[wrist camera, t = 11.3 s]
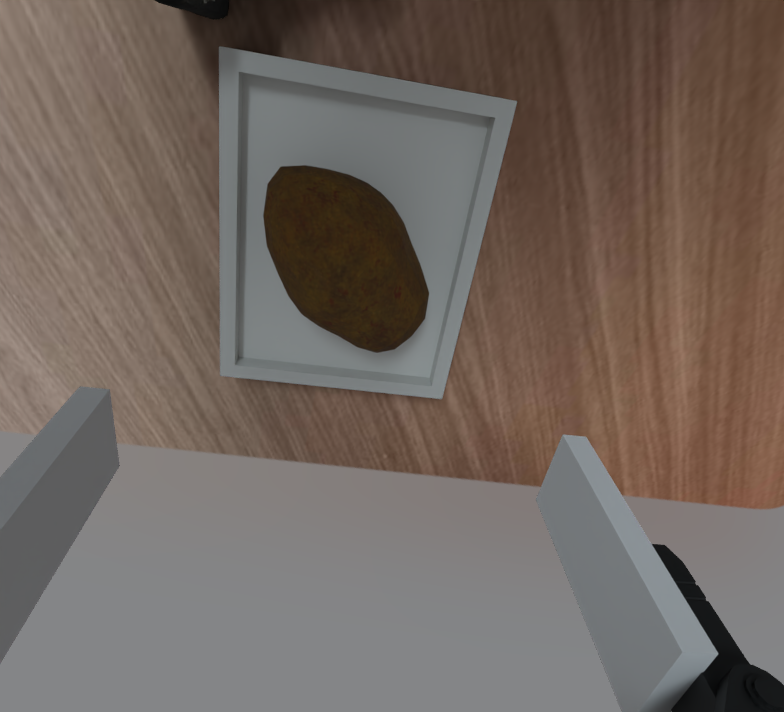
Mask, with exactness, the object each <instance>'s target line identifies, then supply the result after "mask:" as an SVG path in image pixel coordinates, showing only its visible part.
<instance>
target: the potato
mask: <svg viewBox="0 0 784 712" xmlns="http://www.w3.org/2000/svg"><path fill="white" fill-rule="evenodd" d="M263 218H264V227H265V235H266V244H267V248H268V250H269V253H270V255H271V258H272V260H273V263H274V265H275V268H276V270H277V273H278V275H279V277H280V279H281V281H282V283H283V286H284V288H285V290H286V292H287V294H288V296H289V298H290V299H291V300H292V302H293V303H294V305H295V306H296V307H297V309H298V310H299V311H300V313H301V314H302V315H303V316H305V317H306V318H308V319H309V320H310V321H312V322H313V323H315V324H316V325H318V326H319V327H321V328H323V329H325V330H327V331H329V332H331V333H333V334H335V335H337V336H339V337H341V338H342V339H344V340H346V341H348V342H349V343H351V344H353V345H354V346H356V347H358V348H361V349H365V350H368V351H372V352H375V353H379V352H384V351H389V350H395V349H396V348H397V347H399V346H400V345H401V344H402V343H404V342H405V341H406V340H408V339H409V338H410V337H411V336H412V335H413V334H414V333H415V331H416V330H417V329H418V328H419V326H420V325H421V324H422V322H423V321H424V320H425V316H426V310H427V304H428V298H429V290H428V287H427V284H426V281H425V278H424V274H423V271H422V268H421V265H420V262H419V260H418V257H417V255H416V253H415V250H414V248H413V245H412V243H411V240H410V238H409V235H408V232H407V230H406V227H405V224H404V222H403V220H402V219H401V217H400V215H399V214H398V212H397V211H396V209H395V207H394V206H393V204H392V203H391V202H390V201H389V200H388V199H387V198H386V197H385V196H384V195H383V194H382V193H381V192H380V191H378V190H377V189H375V188H374V187H373V186H371V185H370V184H368V183H367V182H365V181H362V180H360V179H358V178H356V177H353V176H351V175H348V174H345V173H341V172H337V171H334V170H330V169H325V168H319V167H313V166H307V165H302V166H282V167H280V168H279V169H278V171H277V172H276V173H275V175H274V176H273V177H272V179H271V180H270V181H269V182H268V184H267V191H266V199H265V206H264V213H263Z"/></svg>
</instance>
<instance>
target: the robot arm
mask: <svg viewBox="0 0 784 712" xmlns="http://www.w3.org/2000/svg"><path fill="white" fill-rule="evenodd" d="M119 466H120V465H119V458H118V450H117V442H116V434H115V427H114V419H113V411H112V404H111V396H110V389H100V388H90V387H79V388H78V389H77V390H76V391H75V393H74V394H73V395H72V396H71V397H70V398H69V399H68V400H67V402H66V403H65V404H64V405H63V406H62V407H61V408H60V410H59V411H58V412H57V413H56V414H55V415H54V416H53V418H52V419H51V420H50V421H49V422H48V423H47V424H46V426H45V427H44V428H43V429H42V430H41V431H40V432H39V434H38V435H37V436H36V437H35V438H34V439H33V440H32V442H31V443H30V444H29V445H28V446H27V447H26V448H25V450H24V451H23V452H22V453H21V454H20V455H19V456H18V458H17V459H16V460H15V461H14V462H13V463H12V464H11V466H10V467H9V468H8V469H7V470H6V471H5V472H4V473H3V475H2V476H1V477H0V663H1V662H2V660H3V658H4V657H5V655H6V653H7V652H8V650H9V648H10V647H11V645H12V643H13V641H14V640H15V638H16V637H17V635H18V633H19V631H20V630H21V628H22V627H23V625H24V623H25V622H26V620H27V618H28V617H29V615H30V614H31V612H32V610H33V609H34V607H35V605H36V604H37V602H38V600H39V599H40V597H41V595H42V593H43V591H44V590H45V588H46V587H47V585H48V584H49V582H50V580H51V579H52V577H53V575H54V574H55V572H56V570H57V569H58V567H59V565H60V564H61V562H62V560H63V559H64V557H65V555H66V554H67V552H68V550H69V549H70V547H71V546H72V544H73V542H74V541H75V539H76V537H77V535H78V534H79V532H80V530H81V529H82V527H83V526H84V524H85V522H86V521H87V519H88V517H89V516H90V514H91V512H92V511H93V509H94V507H95V506H96V504H97V502H98V501H99V499H100V497H101V495H102V494H103V492H104V491H105V489H106V487H107V485H108V484H109V482H110V481H111V479H112V478H113V476H114V474H115V472H116V471H117V469H118V468H119ZM536 501H537V504H538V506H539V508H540V511H541V514H542V516H543V519H544V521H545V524H546V526H547V529H548V530H549V534H550V536H551V539H552V540H553V544H554V546H555V548H556V551H557V553H558V556H559V558H560V560H561V563H562V565H563V568H564V571H565V573H566V576H567V578H568V581H569V583H570V585H571V588H572V590H573V593H574V595H575V598H576V600H577V602H578V605H579V608H580V610H581V612H582V615H583V617H584V620H585V622H586V625H587V627H588V630H589V632H590V635H591V637H592V640H593V642H594V645H595V647H596V650H597V652H598V654H599V657H600V659H601V662H602V664H603V667H604V669H605V672H606V674H607V677H608V679H609V682H610V684H611V687H612V689H613V691H614V694H615V696H616V699H617V701H618V704H619V706H620V708H621V711H622V712H671V711H672V712H784V685H783V684H782V683H781V682H780V681H778V680H777V679H776V678H774V677H773V676H772V675H771V674H769V673H768V672H766V671H764V670H762V669H760V668H758V667H756V666H754V665H750V664H749V662H748V661H747V660H746V658H745V657H744V655H743V654H742V652H741V651H740V649H739V647H738V646H737V644H736V643H735V641H734V640H733V638H732V637H731V635H730V634H729V632H728V631H727V629H726V628H725V626H724V624H723V623H722V621H721V620H720V618H719V617H718V615H717V614H716V612H715V611H714V609H713V608H712V606H711V604H710V603H709V602H708V601H706V597H705V595H704V594H703V592H702V591H701V589H700V588H699V586H698V585H696V584H695V580H694V579H693V577H692V575H691V574H690V572H689V571H688V569H687V568H686V566H685V565H684V563H683V562H682V561H681V560H680V559H679V558H678V557H677V556H676V555H675V554H674V553H673V552H672V551H670V549H669V548H667V547H666V546H665V545H658V544H651V543H650V541H649V539H648V538H647V536H646V534H645V533H644V531H643V529H642V528H641V526H640V524H639V523H638V521H637V519H636V518H635V516H634V515H633V513H632V511H631V510H630V508H629V506H628V505H627V503H626V502H625V500H624V498H623V497H622V495H621V493H620V492H619V490H618V488H617V487H616V485H615V483H614V482H613V480H612V479H611V477H610V475H609V474H608V472H607V470H606V469H605V467H604V465H603V464H602V462H601V460H600V459H599V457H598V456H597V454H596V452H595V451H594V449H593V447H592V446H591V444H590V442H589V441H588V439H587V438H586V437H581V436H571V435H562V438H561V440H560V442H559V445H558V447H557V450H556V452H555V455H554V457H553V459H552V462H551V464H550V467H549V469H548V472H547V474H546V476H545V479H544V481H543V484H542V486H541V489H540V491H539V494H538V496H537V498H536Z"/></svg>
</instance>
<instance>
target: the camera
mask: <svg viewBox="0 0 784 712" xmlns="http://www.w3.org/2000/svg"><path fill="white" fill-rule="evenodd" d="M155 1H157V2H159V3H162V4H165V5H168V6H172V7H175V8H178V9H183V10H187V11H191V12H193V13H195V14H198V15H201V16H204V17H207V18H211V19H220V18H224V17H226V16H227V14H228V7H229V0H155Z"/></svg>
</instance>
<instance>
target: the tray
mask: <svg viewBox="0 0 784 712" xmlns="http://www.w3.org/2000/svg"><path fill="white" fill-rule="evenodd" d="M516 104H517V101H514V100H509V99H504V98H499V97H494V96H488V95H483V94H477V93H472V92H467V91H461V90H456V89H450V88H445V87H440V86H434V85H429V84H423V83H418V82H413V81H407V80H402V79H397V78H391V77H386V76H380V75H375V74H370V73H364V72H359V71H353V70H348V69H343V68H337V67H332V66H326V65H321V64H316V63H310V62H305V61H299V60H294V59H289V58H283V57H278V56H272V55H267V54H262V53H256V52H251V51H245V50H240V49H235V48H228V47H222V46H219V213H220V376H227V377H236V378H246V379H255V380H265V381H274V382H284V383H293V384H303V385H312V386H322V387H331V388H341V389H351V390H360V391H370V392H379V393H389V394H398V395H408V396H417V397H427V398H436V399H442V397H443V393H444V389H445V385H446V381H447V377H448V373H449V369H450V365H451V361H452V358H453V354H454V350H455V346H456V342H457V338H458V334H459V330H460V326H461V322H462V318H463V314H464V310H465V306H466V302H467V298H468V294H469V290H470V286H471V282H472V278H473V274H474V271H475V267H476V263H477V259H478V255H479V251H480V247H481V243H482V239H483V235H484V231H485V227H486V223H487V219H488V215H489V211H490V207H491V203H492V199H493V195H494V191H495V187H496V184H497V180H498V176H499V172H500V168H501V164H502V160H503V156H504V152H505V148H506V144H507V140H508V136H509V132H510V128H511V124H512V120H513V116H514V112H515V108H516ZM302 165H307V166H313V167H319V168H325V169H330V170H334V171H337V172H341V173H345V174H348V175H351V176H353V177H356V178H358V179H360V180H362V181H365V182H367V183H368V184H370V185H371V186H373V187H374V188H375V189H377V190H378V191H380V192H381V193H382V194H383V195H384V196H385V197H386V198H387V199H388V200H389V201H390V202H391V203H392V204H393V206H394V207H395V209H396V211H397V212H398V214H399V215H400V217H401V219H402V220H403V222H404V224H405V227H406V230H407V232H408V235H409V238H410V240H411V243H412V245H413V248H414V250H415V253H416V255H417V257H418V260H419V262H420V265H421V268H422V271H423V274H424V278H425V281H426V284H427V287H428V290H429V298H428V304H427V310H426V316H425V320H424V321H423V322H422V324H421V325H420V326H419V328H418V329H417V330H416V331H415V333H414V334H413V335H412V336H411V337H410V338H409V339H408V340H406V341H405V342H404V343H402V344H401V345H400V346H399V347H397V348H396V349H395V350H389V351H384V352H379V353H375V352H372V351H368V350H365V349H361V348H358V347H356V346H354V345H353V344H351V343H349V342H348V341H346V340H344V339H342V338H341V337H339V336H337V335H335V334H333V333H331V332H329V331H327V330H325V329H323V328H321V327H319V326H318V325H316V324H315V323H313V322H312V321H310V320H309V319H308V318H306V317H305V316H303V315H302V314H301V313H300V311H299V310H298V309H297V307H296V306H295V305H294V303H293V302H292V300H291V299H290V298H289V296H288V294H287V292H286V290H285V288H284V286H283V283H282V281H281V279H280V277H279V275H278V273H277V270H276V268H275V265H274V263H273V260H272V258H271V255H270V253H269V250H268V248H267V244H266V235H265V227H264V218H263V213H264V206H265V199H266V191H267V184H268V182H269V181H270V180H271V179H272V177H273V176H274V175H275V173H276V172H277V171H278V169H279V168H280V167H282V166H302Z"/></svg>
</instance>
